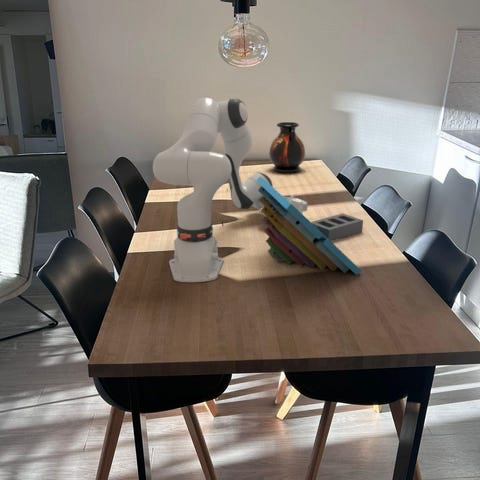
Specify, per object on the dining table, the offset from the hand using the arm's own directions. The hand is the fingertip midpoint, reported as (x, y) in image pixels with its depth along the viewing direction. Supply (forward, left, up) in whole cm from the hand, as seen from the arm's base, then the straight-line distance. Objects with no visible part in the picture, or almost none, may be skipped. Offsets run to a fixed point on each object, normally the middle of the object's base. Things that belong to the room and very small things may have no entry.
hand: (297, 213), depth 199 cm
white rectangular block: (+1, 0, -7) cm, 7 cm away
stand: (-5, -15, -7) cm, 17 cm away
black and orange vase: (+103, -11, -7) cm, 104 cm away
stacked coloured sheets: (-29, +2, -7) cm, 30 cm away
